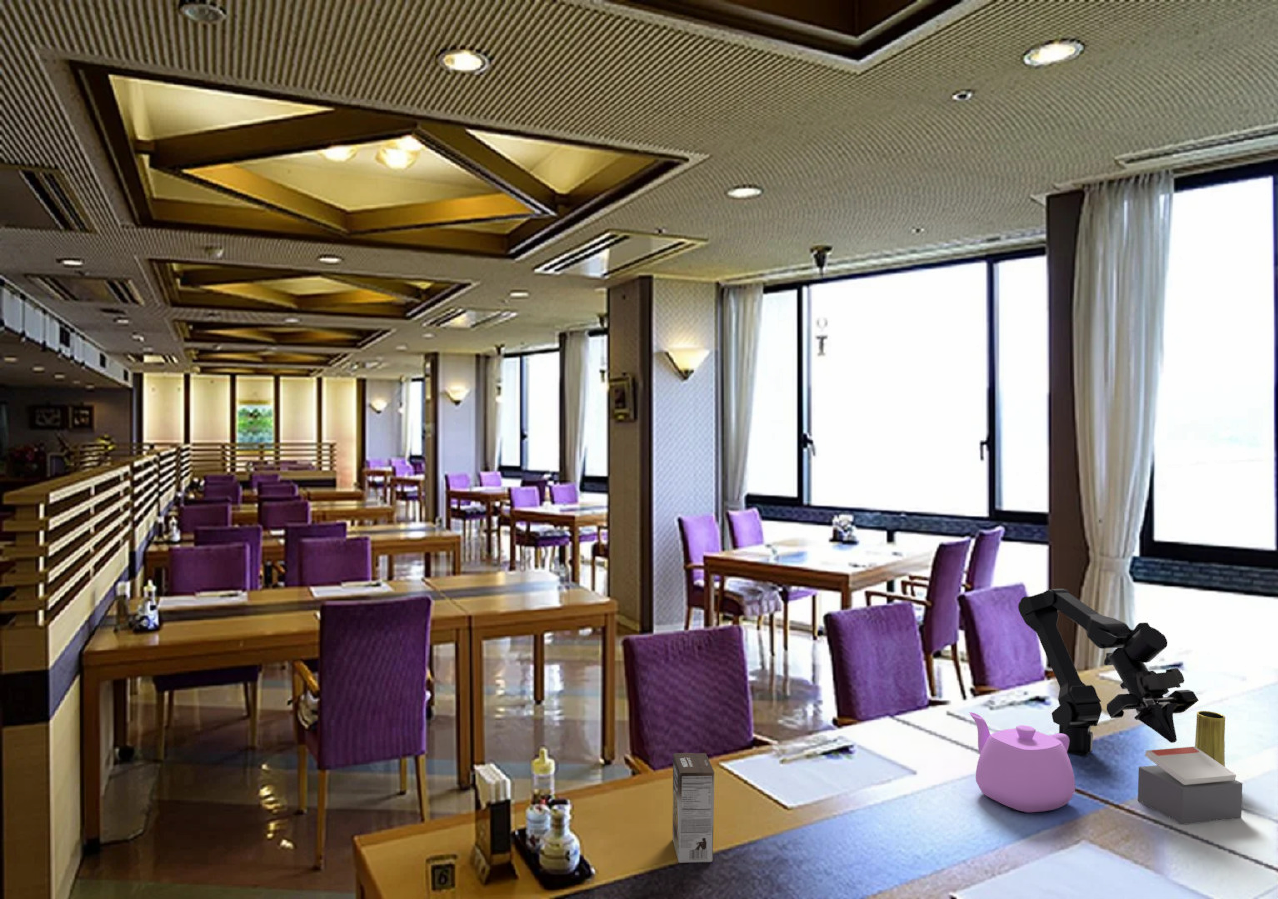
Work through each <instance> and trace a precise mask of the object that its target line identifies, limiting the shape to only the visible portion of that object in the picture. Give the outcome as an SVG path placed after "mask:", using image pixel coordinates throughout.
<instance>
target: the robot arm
mask: <svg viewBox="0 0 1278 899" xmlns="http://www.w3.org/2000/svg"><path fill="white" fill-rule="evenodd" d="M1017 608H1018V612H1019V615H1020V616H1021V618H1022V620H1023V621H1024V623H1025V625H1027V626H1028V627H1029V628H1030V629H1031V630H1033V631H1034V632H1035V633H1036V636H1037V637H1038V639H1039V641H1040V644H1041V646H1042V649H1043V651H1044V654H1045V656H1046V658H1047V661H1048V663H1049V665H1050V667H1051V669H1052V672H1053V674H1054V676H1055V679H1056V681H1057V684H1058V687H1059V691H1058V697H1057V701H1058V704H1059V706H1058V707H1056V708H1055V709H1054V710H1053V711H1052V712H1051V718H1052V722H1053V723H1054V724H1056V725H1058V733H1062V734H1065V735H1067V736H1068V737H1069V747H1068V751H1067V753H1070V754H1075V755H1078V756H1079V755H1080V756H1083V757H1087V756H1088V755H1089V753H1091V752H1092V750H1093V747H1094V746H1093V740H1094V732H1093V731H1091V727H1097V726H1098V724H1099V720H1100V717H1101V714H1102V711H1103V708H1102V705H1101V702H1102V700H1101V698H1099V696H1098V693H1097V691H1096V688H1095V686H1094V685H1093V684H1089V685H1087V684H1085V683H1084V682H1083V681H1082V680H1081V677H1080V676H1079V673H1078V671H1077V669H1076V667H1075V664H1074V662H1073V660H1072V657H1071V655H1070V654H1069V650H1068V648H1067V646H1066V644H1065V642H1064V640H1063V637H1062V634H1061V632H1060V631H1059V628H1058V621H1059V616H1060V615H1059V612H1061V614H1063V615H1064V616H1066V617H1067V618H1068V619H1070V620H1072V622H1074V623H1076V625H1078V626H1080V627H1081V628H1082V629H1084V630H1085V632H1086V636H1087V638H1088V639H1089V641H1091V642H1092V643H1093V644H1094V645H1095V647H1097V648H1099V649H1101V650H1102V649H1104V650H1105V649H1106V650H1107V649H1114V650H1113V651H1112V652H1106V654H1105V655H1106V656H1105V658H1104V660H1103V661H1104V662H1103V665H1104V666H1113V667H1114V669H1115V671H1116V672H1117V674H1118V676H1119V678H1120V679H1121V681H1122V682H1121V683H1119V686H1120V688H1121V689H1122V690H1127V692H1128V693H1119V694H1117V695H1116V696H1115V697H1114V698H1112V699H1111V701H1109V702H1108V703H1107V704H1106V711H1107V713H1108V716H1109V717H1110V718H1111V719H1117V718H1118V719H1119V718H1123V717H1124V715H1125V711H1126V710H1135V711H1136V715H1135V716H1134V720H1136V721H1140V722H1141V723H1143V724H1144V725H1146V726H1147V727H1149V728H1150V729H1152V730H1153V731H1154V732H1156V733H1157V734H1159V735H1160V736H1161V737H1163V738H1164V739H1165V740H1166V741H1168V742H1169V743H1172V744H1173V743H1176V742H1177V740H1178V739H1177V738H1178V737H1177V733H1176V728H1175V723H1174V714H1182V713H1184V712H1186V711H1187V710H1188V709H1189V708H1191V707H1192V706H1193V705H1195V704H1196V703H1197V702H1199V699H1198V697H1197V695H1196V694H1195V692H1194V691H1193V690H1190V689H1180V690H1179V689H1178V688H1181V684H1184V682H1185V678H1184V675H1183V673H1182V672H1181V670H1180V669H1179V668H1178V667H1174V668H1170V669H1169V668H1168V669H1165V671H1164V672H1156V671H1154V670H1148V669H1149V668H1147V666H1146V664H1147V663H1150V662H1151V661H1152V660H1153V659H1154V658H1156V657H1157V656H1158V655H1159V654H1160V653H1161V652H1162V651H1163V650H1165V649H1166V648H1167V647H1168V639H1167V638H1166V636H1165V634H1164V633H1162V632H1160V631H1159V630H1158V629H1156V628H1155V627H1152V626H1150V624H1149V622H1139V623H1137V625H1136V626H1135V627H1134V629H1131V628H1130V627H1129V625H1127V623H1125V622H1123V621H1121V620H1119V619H1116V618H1113V617H1109V616H1106V615H1103V614H1100V613H1099V612H1098V611H1096V610H1094V609H1093V608H1091V607H1090V606H1089V605H1087V604H1086V603H1084V602H1083V601H1081V600H1080V599H1078V598H1077V597H1075V596H1074V595H1073V594H1071V593H1070V591H1069V590H1068V589H1066V588H1049V589H1048V590H1045V591H1042V592H1040V593H1037V594H1033V595H1030V596H1023V597H1021V599H1020V601H1019V603H1018V606H1017ZM1173 688H1177V689H1178V690H1174V691H1173V692H1172V693H1170V694H1169V695H1168V696H1164V695H1167V694H1168V693H1169V692H1170V690H1169V689H1173Z"/></svg>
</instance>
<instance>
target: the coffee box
mask: <svg viewBox="0 0 1278 899" xmlns="http://www.w3.org/2000/svg"><path fill="white" fill-rule="evenodd" d="M672 757H673V758H672V841H673V847H674V850H675V854H676V858H677V863H682V864H683V863H684V864H685V863H712V862H713V859H714V820H715V818H714V817H715V813H714V812H715V771H714V768H713V766H712V764H711V761H710V759H709V757H708V755H707V753H706V752H702V753H700V752H699V753H696V752H695V753H694V752H677V753H676V752H675V753H673V754H672Z"/></svg>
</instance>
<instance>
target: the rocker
mask: <svg viewBox="0 0 1278 899" xmlns="http://www.w3.org/2000/svg"><path fill="white" fill-rule="evenodd" d="M1144 757H1146V758H1147V759H1149V760H1150V761H1151V762H1152V763H1154V764H1156V765H1158V766H1159V767H1161V768H1162V769H1163V770H1165V771H1166V772H1167V773H1169V774H1170V775H1171V776H1173V777H1174V778H1175V779H1177V780H1178V781H1179V782H1181V783H1182V784H1183V785H1190V784H1200V783H1211V782H1221V781H1232V780H1236V777H1237V774H1236V773H1234V772H1233V771H1231V770H1230V769H1229V768H1227V767H1226V766H1225V767H1224V766H1223V765H1221V764H1220V763H1218V762H1217V761H1215V760H1214V759H1212V758H1211V757H1209V756H1208V755H1207V754H1205V753H1204V752H1202V751H1201V750H1199V749H1198V748H1196V747H1195V746H1185V747H1173V748H1171V747H1170V748H1160V749H1149V750H1145V753H1144Z"/></svg>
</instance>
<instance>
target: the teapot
mask: <svg viewBox="0 0 1278 899" xmlns="http://www.w3.org/2000/svg"><path fill="white" fill-rule="evenodd" d="M968 713H969V715H970V717H971V718H972V719H973V721H974V722H975V724H976V729H977V748H978V749H977V750H978V752H979V757H978V760H977V762H976V763H977V764H976V769H975V781H976V784H977V786H978V787H979V789H980V792H981V793H982V794H983V795H984V796H987V797H988V798H990V799H991V800H994V801H995V802H997V803H1000V804H1001V805H1004V806H1006V807H1008V808H1010V809H1014V810H1017V811H1020V812H1024V813H1029V814H1030V813H1031V814H1032V813H1038V812H1039V813H1040V812H1041V813H1042V812H1047V811H1052V810H1053V811H1054V810H1056V809H1060V808H1061V807H1064V806H1065V805H1067V804H1068V803H1069V802H1070V801H1071V799H1072V798H1073V796H1074V794H1075V791H1076V782H1075V781H1076V780H1075V773H1074V770H1073V767H1072V766H1073V765H1072V763H1071V760H1070V757H1069V755H1068V752H1067V751H1068V747H1069V737H1068V736H1067V735H1065V734H1062V733H1059V732H1058V733H1054V734H1050V735H1048V734H1046V733H1043V732H1040V731H1038V730H1036V728H1034V727H1032V726H1030V725H1022V724H1021V725H1017V726H1016V727H1015V728H1008V729H1001V730H998V731H995V732H993V733H990V730H989V726H988V724H987V721H986V720H985V719H984V718H983V717H982V716H981V715H979V714H977V713H975V712H968Z"/></svg>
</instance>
